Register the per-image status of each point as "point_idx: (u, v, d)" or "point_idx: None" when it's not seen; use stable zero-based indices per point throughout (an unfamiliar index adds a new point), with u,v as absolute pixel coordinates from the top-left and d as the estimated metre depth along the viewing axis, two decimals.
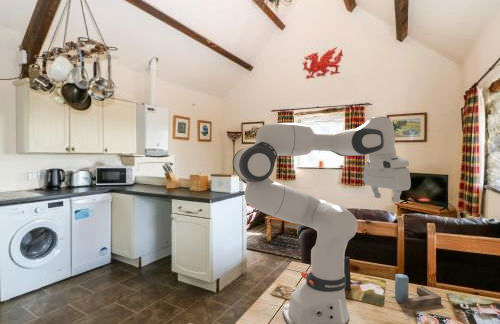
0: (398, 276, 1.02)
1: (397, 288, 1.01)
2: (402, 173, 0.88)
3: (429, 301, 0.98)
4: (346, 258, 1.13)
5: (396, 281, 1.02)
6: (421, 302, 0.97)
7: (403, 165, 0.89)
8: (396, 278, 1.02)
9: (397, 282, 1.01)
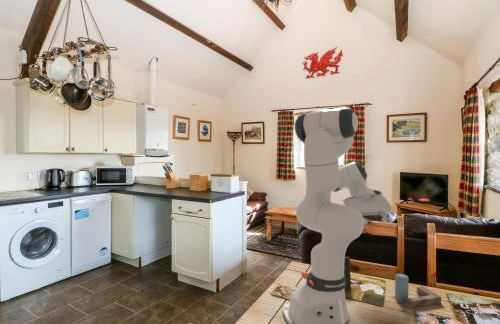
0: (398, 276, 1.02)
1: (397, 288, 1.01)
2: None
3: (429, 301, 0.98)
4: (346, 258, 1.13)
5: (396, 281, 1.02)
6: (421, 302, 0.97)
7: None
8: (396, 278, 1.02)
9: (397, 282, 1.01)
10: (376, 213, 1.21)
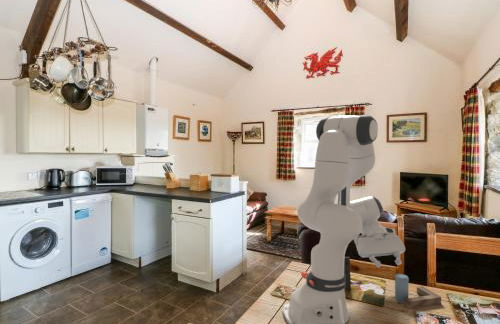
0: (398, 276, 1.02)
1: (397, 288, 1.01)
2: None
3: (429, 301, 0.98)
4: (346, 258, 1.13)
5: (396, 281, 1.02)
6: (421, 302, 0.97)
7: None
8: (396, 278, 1.02)
9: (397, 282, 1.01)
10: (389, 253, 1.13)
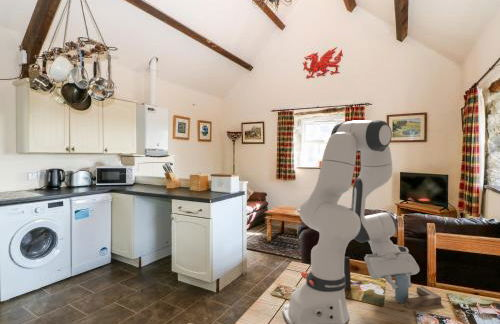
0: (398, 276, 1.02)
1: None
2: None
3: (429, 301, 0.98)
4: (346, 258, 1.13)
5: (396, 281, 1.02)
6: (421, 302, 0.97)
7: None
8: (396, 278, 1.02)
9: (397, 282, 1.01)
10: None
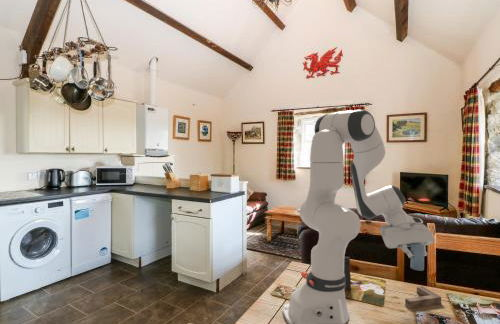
0: (414, 245, 1.03)
1: None
2: None
3: (429, 301, 0.98)
4: (346, 258, 1.13)
5: (412, 249, 1.03)
6: (421, 302, 0.97)
7: None
8: (412, 246, 1.03)
9: (412, 251, 1.02)
10: None
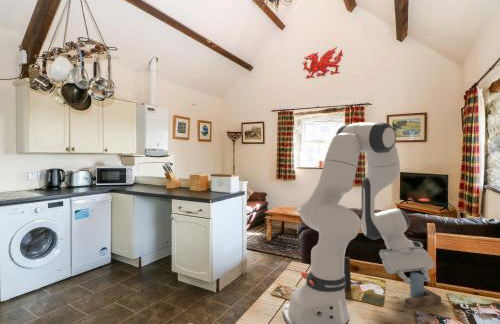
0: (413, 274, 1.03)
1: (413, 286, 1.02)
2: None
3: (429, 301, 0.98)
4: (346, 258, 1.13)
5: (411, 279, 1.03)
6: (421, 302, 0.97)
7: None
8: (411, 276, 1.03)
9: (412, 280, 1.03)
10: (417, 269, 1.08)
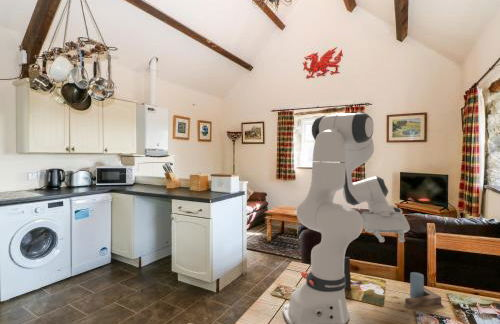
0: (413, 274, 1.03)
1: (413, 286, 1.02)
2: None
3: (429, 301, 0.98)
4: (346, 258, 1.13)
5: (411, 279, 1.03)
6: (421, 302, 0.97)
7: None
8: (411, 276, 1.03)
9: (412, 280, 1.03)
10: (393, 231, 1.19)
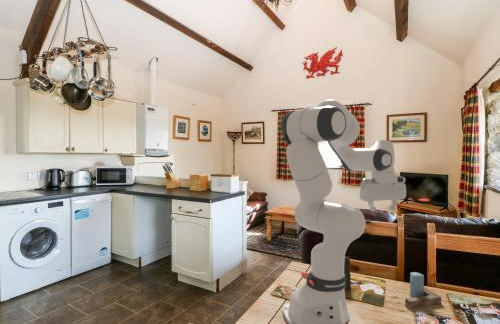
0: (413, 274, 1.03)
1: (413, 286, 1.02)
2: None
3: (429, 301, 0.98)
4: (346, 258, 1.13)
5: (411, 279, 1.03)
6: (421, 302, 0.97)
7: None
8: (411, 276, 1.03)
9: (412, 280, 1.03)
10: None
